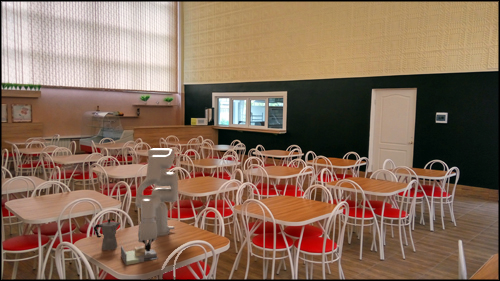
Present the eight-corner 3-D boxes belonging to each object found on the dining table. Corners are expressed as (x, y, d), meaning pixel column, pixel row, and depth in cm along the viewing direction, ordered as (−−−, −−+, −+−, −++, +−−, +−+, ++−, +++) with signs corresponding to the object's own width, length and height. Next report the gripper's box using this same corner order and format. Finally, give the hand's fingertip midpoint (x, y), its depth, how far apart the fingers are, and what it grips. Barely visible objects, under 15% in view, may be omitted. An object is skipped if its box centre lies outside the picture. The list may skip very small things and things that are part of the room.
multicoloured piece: (152, 250, 224) (151, 240, 224) (158, 258, 212) (158, 248, 212) (121, 255, 216) (120, 245, 215) (125, 264, 203) (125, 254, 203)
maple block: (143, 252, 216) (143, 245, 216) (145, 254, 213) (144, 247, 213) (134, 253, 214) (134, 246, 214) (136, 256, 211) (136, 249, 210)
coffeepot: (119, 243, 235) (119, 215, 233) (122, 248, 227) (121, 219, 225) (93, 247, 227) (92, 218, 226) (95, 252, 219) (94, 223, 218)
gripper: (158, 216, 221) (158, 246, 223) (133, 219, 214) (133, 250, 215) (162, 219, 215) (162, 250, 216) (136, 223, 207) (136, 255, 209)
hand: (147, 250), depth 216 cm, fingers closed
